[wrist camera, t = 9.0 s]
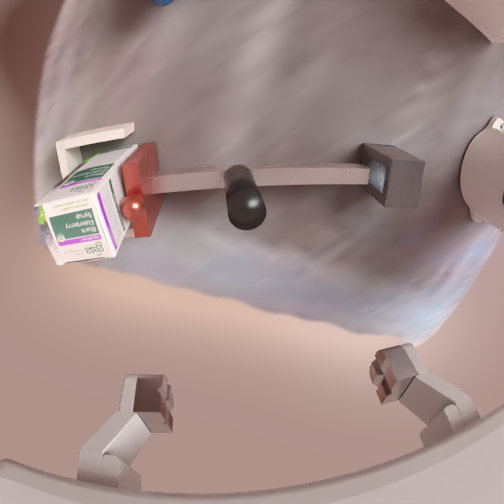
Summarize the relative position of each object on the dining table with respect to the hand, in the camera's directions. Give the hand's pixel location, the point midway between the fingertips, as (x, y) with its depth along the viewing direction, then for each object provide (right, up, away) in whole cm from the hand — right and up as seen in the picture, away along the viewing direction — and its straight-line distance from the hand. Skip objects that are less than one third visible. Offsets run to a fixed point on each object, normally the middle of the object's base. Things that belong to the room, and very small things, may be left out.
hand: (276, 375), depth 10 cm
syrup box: (-16, +14, +21) cm, 30 cm away
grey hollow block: (+15, +16, +24) cm, 32 cm away
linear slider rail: (-1, +14, +22) cm, 26 cm away
